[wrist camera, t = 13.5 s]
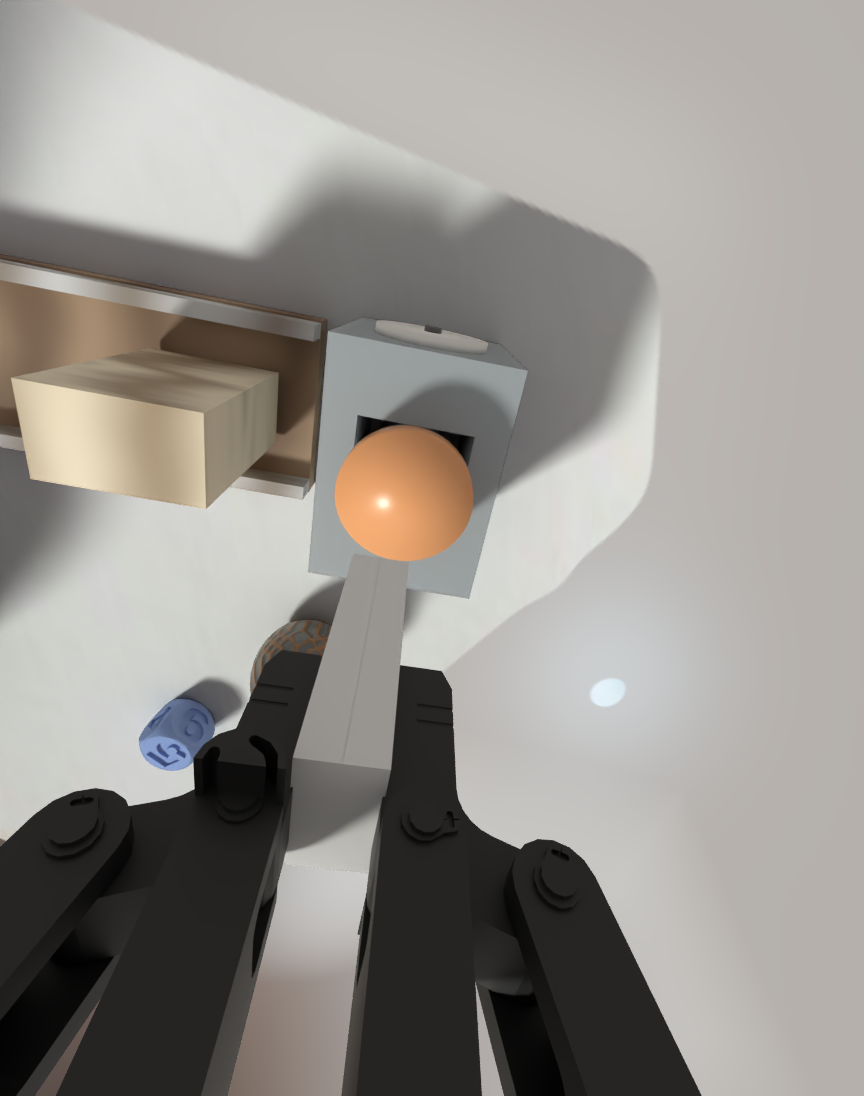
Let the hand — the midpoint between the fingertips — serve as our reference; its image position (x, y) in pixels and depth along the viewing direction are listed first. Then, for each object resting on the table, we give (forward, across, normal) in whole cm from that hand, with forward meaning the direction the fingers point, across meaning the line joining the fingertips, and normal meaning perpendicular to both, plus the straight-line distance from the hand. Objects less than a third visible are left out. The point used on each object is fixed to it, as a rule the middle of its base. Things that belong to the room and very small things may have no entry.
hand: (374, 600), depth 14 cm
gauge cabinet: (+20, +1, 0) cm, 20 cm away
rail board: (+20, -15, 0) cm, 25 cm away
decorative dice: (+20, -14, -28) cm, 37 cm away
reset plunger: (+15, +1, 0) cm, 15 cm away
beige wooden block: (+18, -11, 0) cm, 21 cm away
